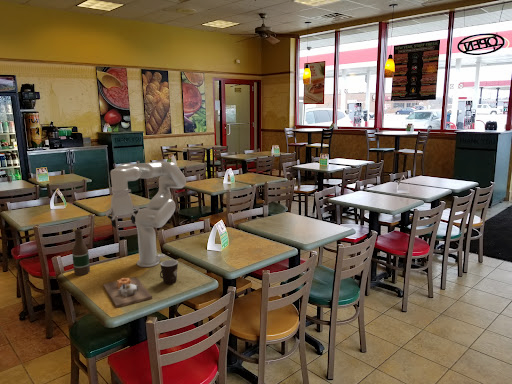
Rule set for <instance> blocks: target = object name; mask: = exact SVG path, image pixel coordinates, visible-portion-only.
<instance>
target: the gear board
mask: <svg viewBox="0 0 512 384" xmlns="http://www.w3.org/2000/svg"><path fill="white" fill-rule="evenodd" d="M129 278H130V280H131V283H130V284H127V285H125V284H123V285H121V288H120V289H119V287H117V280H115V281H111V282H107V283H103V287H104V289H105V291H106V293H107V294H108V296H109V298H110V300H111V301H112V303H113V304H114V306H115V308H120V307H124V306H128V305H132V304H135V303H136V304H137V303H140V302H145V301H148V300H152V299H153V295H152V294H151V293H150V292H149V291H148V289H147V288H146V287H145V286H144V285H143V283H142V282H141V280H140V279H139V278H138V277H137V276H133V277H129Z"/></svg>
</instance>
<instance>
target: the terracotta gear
mask: <svg viewBox="0 0 512 384" xmlns="http://www.w3.org/2000/svg"><path fill="white" fill-rule="evenodd" d="M130 278H131V277H121V278H120V279H117V280H116V281H117V287H119V289H120V288H121V285H123V284H125V285H127V284H130V283H131V280H130Z"/></svg>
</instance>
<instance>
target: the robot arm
mask: <svg viewBox="0 0 512 384" xmlns="http://www.w3.org/2000/svg"><path fill="white" fill-rule="evenodd" d="M158 177H159V178H158ZM151 178H153V179H154V178H158V191H157V193H156V194H155V195H154V196H153V197H152V198H151V200H149V201H148V204H147V208H141V209H140V206H138V205H135V204H133V201H132V198H131V194H130V193H131V192H132V190H131V189H130V188H129V184H128V182H135V181H137V180H139V179H151ZM110 180H111V186H112V187H111V188H112V189H111V190H112V196H111V197H110V208H109V209H108V210H106V211H105V212H104V215H105V216H106V217H107V218H108V219H109V220H110V221H111V226H112V227H113V228H117V223H116V220H115V219H116V217H119V216H126V215H130V214H131V216H130V217H131V218H130V219H131V220H130V221H131V223H132V224H133V225H136V229H137V230H136V231H137V243H138V245H137V246H138V258H139V260H137V262H136V265H137V266H138V267H140V268H150V267H155V266H158V265H160V263H161V259H164V258H166V254H165V253H164V254H162V253H157V241H156V240H157V239H156V230H155V228H158V229H159V228H162V227H164V225H166V223H167V222H168V221H169V220H170V219H171V217H173V215H174V213H175V210H176V208H177V207H176V202H175V201H174V199H172V193H171V189H183V188H184V187H186V183H187V178H186V175H184V173H183V172H182V171H181V169H180V167H178V165H177V164H176V163H174V162H173V161H152V162H141V163H130V164H121V165H117V166H115V168H114V169H111V170H110ZM134 209H135V210H134ZM110 213H111V215H110Z"/></svg>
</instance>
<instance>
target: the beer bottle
mask: <svg viewBox="0 0 512 384" xmlns="http://www.w3.org/2000/svg"><path fill="white" fill-rule="evenodd" d="M74 239H75V241H74V242H75V243H74V246H73V249H72V255H71V256H72V263H73V271H74V275H76V276H85V275H87V274H90V271H91V267H90V255H89V248H88V247H87V245H86V244H85V243H84V237H83V229H81V228H77V229H75V230H74Z"/></svg>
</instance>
